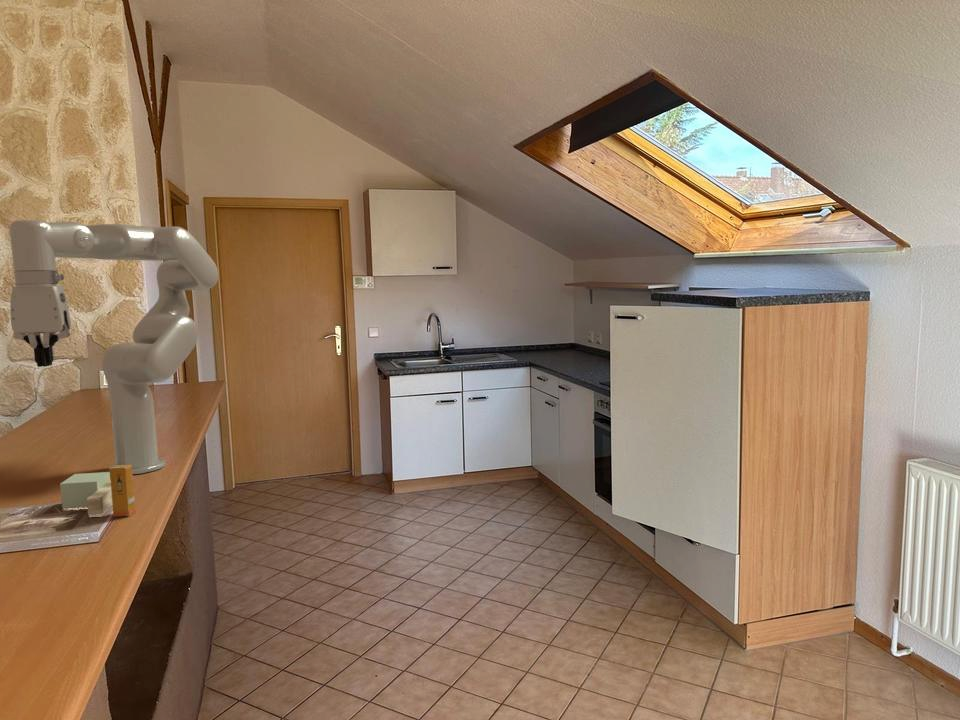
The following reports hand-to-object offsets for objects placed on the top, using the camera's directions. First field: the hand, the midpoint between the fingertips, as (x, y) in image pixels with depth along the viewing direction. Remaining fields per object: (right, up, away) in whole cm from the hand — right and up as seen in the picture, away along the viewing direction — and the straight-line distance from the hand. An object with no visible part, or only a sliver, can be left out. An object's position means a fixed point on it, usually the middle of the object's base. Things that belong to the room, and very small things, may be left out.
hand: (44, 365), depth 145 cm
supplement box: (+22, -30, -8) cm, 38 cm away
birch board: (+15, -29, -1) cm, 33 cm away
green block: (+10, -30, -2) cm, 31 cm away
